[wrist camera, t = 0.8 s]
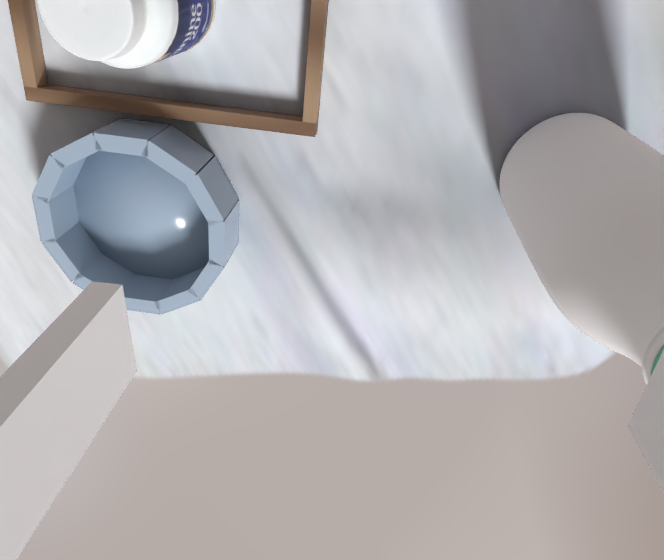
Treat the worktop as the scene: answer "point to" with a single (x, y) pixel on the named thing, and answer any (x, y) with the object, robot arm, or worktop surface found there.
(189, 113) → the empty rectangular wooden frame
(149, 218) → the bowl
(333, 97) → the worktop surface
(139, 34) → the pill bottle
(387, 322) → the worktop surface
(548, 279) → the milk bottle
